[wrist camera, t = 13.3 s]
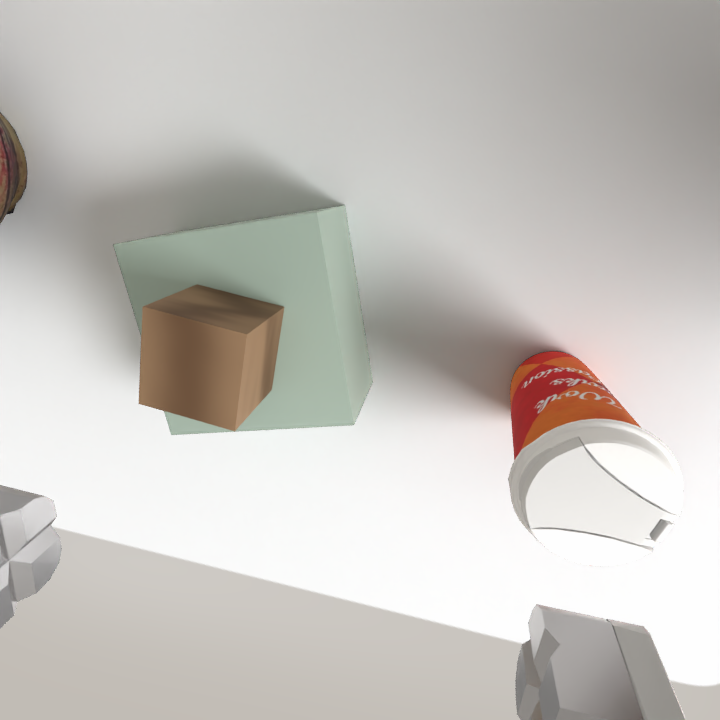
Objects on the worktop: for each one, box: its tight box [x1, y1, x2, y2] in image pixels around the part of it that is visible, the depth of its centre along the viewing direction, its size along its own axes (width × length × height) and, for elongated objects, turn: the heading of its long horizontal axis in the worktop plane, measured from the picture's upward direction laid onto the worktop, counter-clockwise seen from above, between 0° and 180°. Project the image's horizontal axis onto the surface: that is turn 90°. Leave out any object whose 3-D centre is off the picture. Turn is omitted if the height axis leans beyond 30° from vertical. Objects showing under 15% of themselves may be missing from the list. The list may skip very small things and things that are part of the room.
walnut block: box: [139, 284, 284, 431], centre depth 30 cm, size 6×6×6 cm
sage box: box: [113, 205, 373, 435], centre depth 37 cm, size 14×14×8 cm
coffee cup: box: [508, 351, 683, 566], centre depth 31 cm, size 8×8×15 cm
